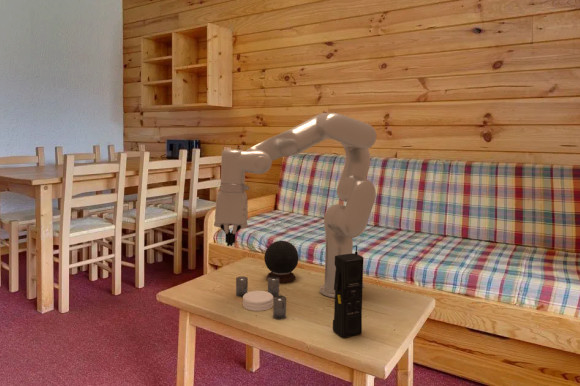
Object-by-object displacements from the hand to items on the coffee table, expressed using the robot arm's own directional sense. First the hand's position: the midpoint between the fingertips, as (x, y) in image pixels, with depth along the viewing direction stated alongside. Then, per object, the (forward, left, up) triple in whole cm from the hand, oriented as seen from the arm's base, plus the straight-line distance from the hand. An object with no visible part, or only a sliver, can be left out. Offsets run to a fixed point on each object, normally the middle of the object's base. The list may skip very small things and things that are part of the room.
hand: (230, 244), depth 144 cm
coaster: (-9, 0, -21) cm, 23 cm away
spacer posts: (-9, 0, -20) cm, 22 cm away
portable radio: (-35, +20, -21) cm, 45 cm away
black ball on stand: (-17, -26, -21) cm, 38 cm away
